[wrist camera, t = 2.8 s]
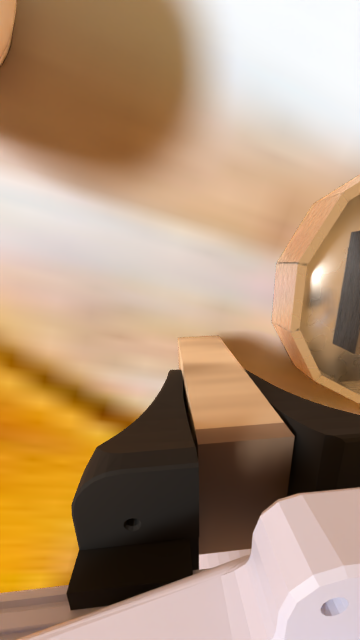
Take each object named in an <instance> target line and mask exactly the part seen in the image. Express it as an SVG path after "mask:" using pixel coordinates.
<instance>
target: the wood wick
mask: <svg viewBox="0 0 360 640" xmlns="http://www.w3.org/2000/svg"><path fill="white" fill-rule="evenodd" d="M178 354H179V370H181V371H182V374H183V387H184V405H185V410H186V415H187V419H188V423H189V427H190V431H191V434H192V438H193V441H194V444H195V446H196V452H197V458H198V464H199V555H201V554H210V553H218V552H227V551H236V550H244V549H252V536H253V532H254V529H255V527H256V525H257V522H258V520H259V518H260V515H261V513H262V512H263V511H264V510H265V509H267V508H268V507H269V506H270V505H272V504H273V503H274V502H275V501H277V500H278V499H281V498H285V497H287V492H288V484H289V477H290V469H291V461H292V454H293V446H294V438H295V436H294V435H293V434H292V432H291V431H290V430H289V428H288V427H287V426H286V424H285V423H284V422H283V420H282V419H281V418H280V416H279V415H278V414H277V412H276V411H275V410H274V408H273V407H272V406H271V404H270V403H269V402H268V400H267V399H266V398H265V397H264V395H263V394H262V393H261V391H260V390H259V389H258V387H257V386H256V385H255V383H254V382H253V381H252V379H251V378H250V377H249V375H248V374H247V373H246V371H245V370H244V369H243V367H242V366H241V365H240V363H239V362H238V361H237V359H236V358H235V357H234V356H233V354H232V353H231V352H230V350H229V349H228V348H227V346H226V345H225V344H224V342H223V341H222V340H221V338H220V337H219V336H199V337H180V338H178Z"/></svg>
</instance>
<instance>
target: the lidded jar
mask: <svg viewBox="0 0 360 640" xmlns="http://www.w3.org/2000/svg"><path fill="white" fill-rule="evenodd" d="M16 2H17V0H0V66H1V64H2V63H3V61H4V60H5V58H6V56H7V54H8V51H9V48H10V45H11V39H12V32H13V26H14V20H15V14H16Z"/></svg>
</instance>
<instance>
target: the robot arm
mask: <svg viewBox="0 0 360 640" xmlns="http://www.w3.org/2000/svg"><path fill="white" fill-rule="evenodd" d="M244 370H245V369H244ZM245 371H246V373H247V374H248V375H249V377H250V378H251V379H252V381H253V382H254V383H255V385H256V386H257V387H258V389H259V390H260V391H261V393H262V394H263V395H264V397H265V398H266V399H267V400H268V402H269V403H270V404H271V406H272V407H273V408H274V410H275V411H276V412H277V414H278V415H279V416H280V418H281V419H282V420H283V422H284V423H285V424H286V426H287V427H288V428H289V430H290V431H291V432H292V434H293V435H294V436H295V438H294V446H293V454H292V461H291V469H290V477H289V484H288V492H287V497H285V498H281V499H278V500H277V501H275V502H274V503H273V504H272V505H270V506H269V507H268V508H267V509H265V510H264V511H263V512H262V513H261V515H260V518H259V520H258V522H257V525H256V527H255V529H254V532H253V536H252V549H244V550H236V551H227V552H218V553H210V554H201V555H199V464H198V458H197V452H196V446H195V444H194V441H193V438H192V434H191V431H190V427H189V423H188V419H187V415H186V410H185V405H184V387H183V374H182V371H181V370H170V371H169V373H168V377H167V379H166V381H165V383H164V385H163V387H162V389H161V391H160V392H159V394H158V395H157V397H156V398H155V400H154V401H153V402H152V404H151V405H150V406H149V407H148V408H147V410H146V411H145V412H144V413H143V414H142V415H141V416H140V417H139V418H138V419H137V420H136V421H135V422H133V423H132V424H131V425H130V426H128V427H127V428H126V429H124V430H123V431H122V432H120V433H119V434H117V435H116V436H114V437H113V438H111V439H109V440H108V441H106V442H104V443H103V444H101V445H99V446H98V447H97V448H96V450H95V451H94V453H93V455H92V457H91V459H90V461H89V463H88V465H87V466H86V468H85V470H84V473H83V475H82V478H81V480H80V483H79V486H78V488H77V491H76V494H75V497H74V499H73V502H72V518H73V522H74V527H75V532H76V536H77V541H78V545H79V553H78V556H77V559H76V563H75V566H74V569H73V573H72V576H71V579H70V583H69V585H66V586H58V587H49V588H41V589H33V590H24V591H16V592H7V593H0V640H360V415H357V414H353V413H349V412H345V411H341V410H337V409H334V408H330V407H327V406H324V405H321V404H317V403H314V402H311V401H309V400H306V399H303V398H301V397H298V396H296V395H293V394H291V393H289V392H286V391H284V390H282V389H280V388H278V387H276V386H274V385H272V384H270V383H268V382H266V381H264V380H263V379H261V378H259V377H257V376H256V375H254V374H252V373H250V372H249V371H247V370H245Z"/></svg>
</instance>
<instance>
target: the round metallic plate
mask: <svg viewBox="0 0 360 640" xmlns="http://www.w3.org/2000/svg"><path fill="white" fill-rule="evenodd" d="M271 321H272V324H273V326H274V328H275V330H276V332H277V333H278V335H279V337H280V339H281V341H282V343H283V345H284V347H285V349H286V351H287V353H288V355H289V357H290V359H291V361H292V363H293V364H294V365H295V366H296V367H297V368H299V369H300V370H301V371H302V372H304V373H305V374H306V375H307V376H309V377H310V378H311V379H312V380H314V381H315V382H317V383H319V384H321V385H323V386H325V387H327V388H329V389H331V390H333V391H335V392H337V393H339V394H341V395H343V396H345V397H346V398H348V399H350V400H352V401H354V402H356V403H358V404H360V174H359V175H358V176H356V177H355V178H353V179H352V180H350V181H348V182H347V183H345V184H344V185H342V186H340V187H339V188H337V189H336V190H334V191H333V192H331V193H329V194H328V195H326V196H325V197H323V198H321V199H320V200H318V201H317V202H315V203H313V205H312V206H311V207H310V209H309V211H308V212H307V214H306V216H305V217H304V219H303V220H302V222H301V224H300V225H299V227H298V229H297V230H296V232H295V233H294V235H293V237H292V238H291V240H290V242H289V243H288V245H287V246H286V248H285V250H284V251H283V253H282V255H281V256H280V258H279V259H278V261H277V263H276V273H275V285H274V297H273V309H272V320H271Z"/></svg>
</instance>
